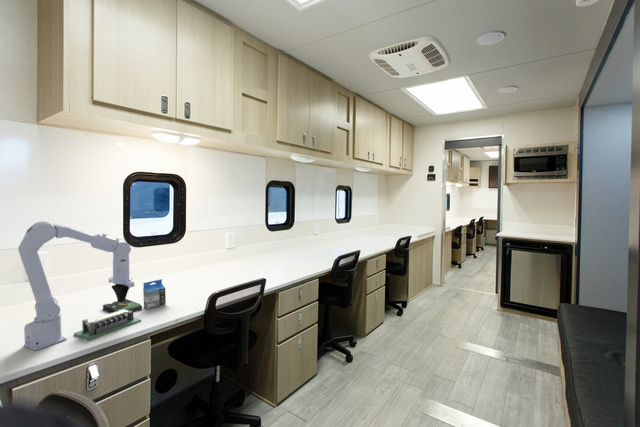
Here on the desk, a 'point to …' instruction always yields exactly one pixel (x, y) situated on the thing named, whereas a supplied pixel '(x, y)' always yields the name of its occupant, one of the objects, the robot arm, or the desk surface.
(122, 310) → the strap
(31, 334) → the robot arm
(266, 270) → the desk surface
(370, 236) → the desk surface
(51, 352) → the desk surface
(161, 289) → the label tape box
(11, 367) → the desk surface
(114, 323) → the heat sink
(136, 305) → the disk drive
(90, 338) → the board
